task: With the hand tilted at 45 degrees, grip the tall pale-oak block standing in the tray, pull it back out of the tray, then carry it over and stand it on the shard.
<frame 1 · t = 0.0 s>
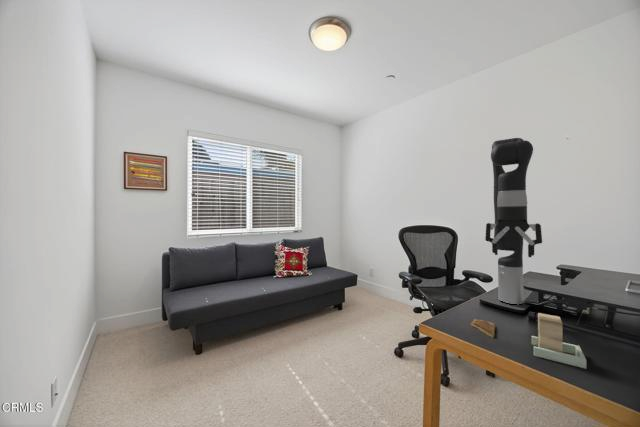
hand: (512, 255, 80), 29 cm above the table, tool pointing down, fingers open, 8 cm apart
tray: (554, 354, 76), on the table
shard: (488, 330, 93), on the table
oak block: (549, 353, 77), resting in tray
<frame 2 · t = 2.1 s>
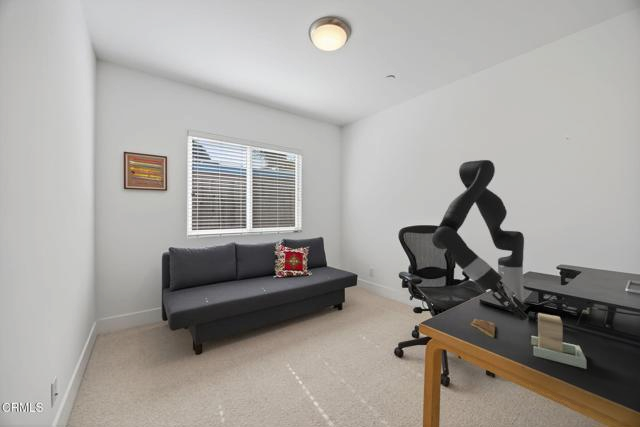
hand: (524, 313, 80), 11 cm above the table, tool tilted 45°, fingers open, 8 cm apart
nothing on the table moved.
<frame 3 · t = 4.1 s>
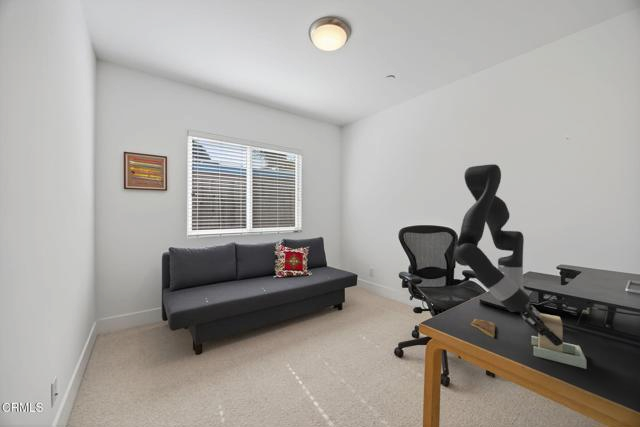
hand: (558, 339, 75), 5 cm above the table, tool tilted 45°, fingers closed on oak block, 5 cm apart
oak block: (549, 353, 77), resting in tray, touching gripper
everything else where it was.
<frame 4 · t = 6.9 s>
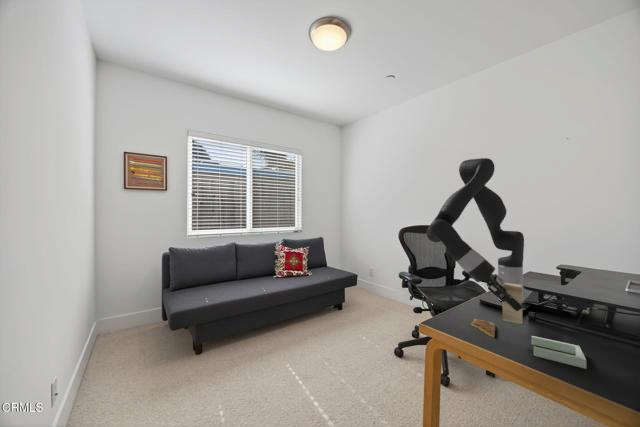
hand: (519, 305, 81), 13 cm above the table, tool tilted 45°, fingers closed on oak block, 5 cm apart
oak block: (512, 319, 82), point 8 cm above the table, touching gripper
everything else where it was.
when the fingers open (8 cm above the table, at t = 9.9 s): oak block drops 2 cm, point 1 cm above the table.
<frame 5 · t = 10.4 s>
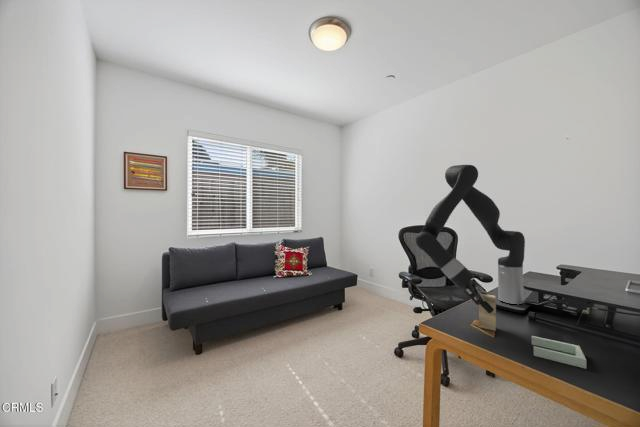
hand: (492, 307, 92), 8 cm above the table, tool tilted 45°, fingers open, 8 cm apart
oak block: (487, 326, 92), point 1 cm above the table
everything else where it was.
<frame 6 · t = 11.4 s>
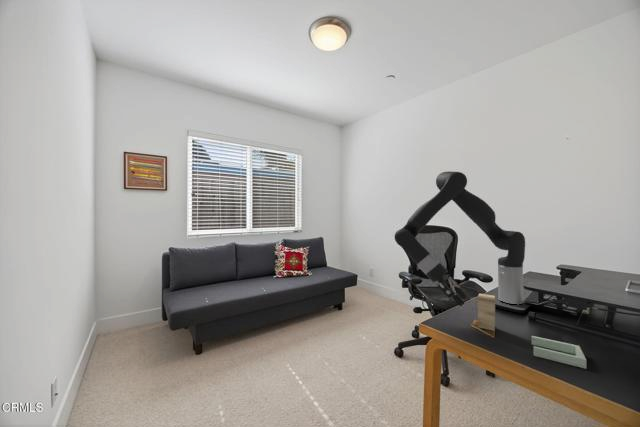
hand: (464, 301, 97), 9 cm above the table, tool tilted 45°, fingers open, 8 cm apart
nothing on the table moved.
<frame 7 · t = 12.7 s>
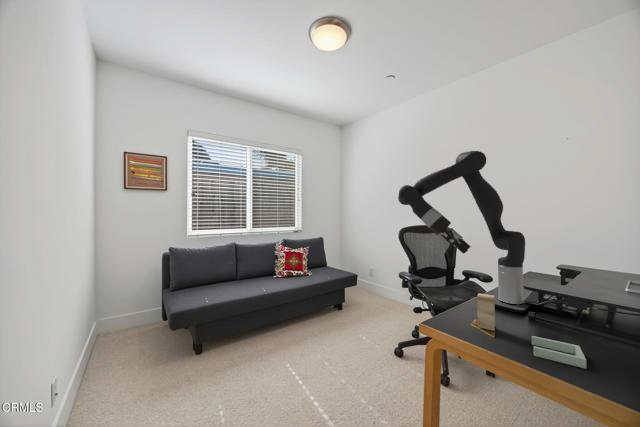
hand: (467, 250, 99), 28 cm above the table, tool tilted 45°, fingers open, 8 cm apart
nothing on the table moved.
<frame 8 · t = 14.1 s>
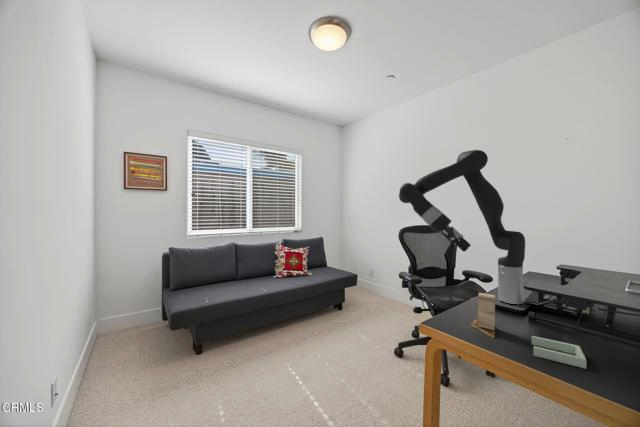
hand: (467, 248, 99), 29 cm above the table, tool tilted 45°, fingers open, 8 cm apart
nothing on the table moved.
at the end: oak block 0.9 cm from the shard (horizontally); oak block point 1.2 cm above the table; oak block tilted 1° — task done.
